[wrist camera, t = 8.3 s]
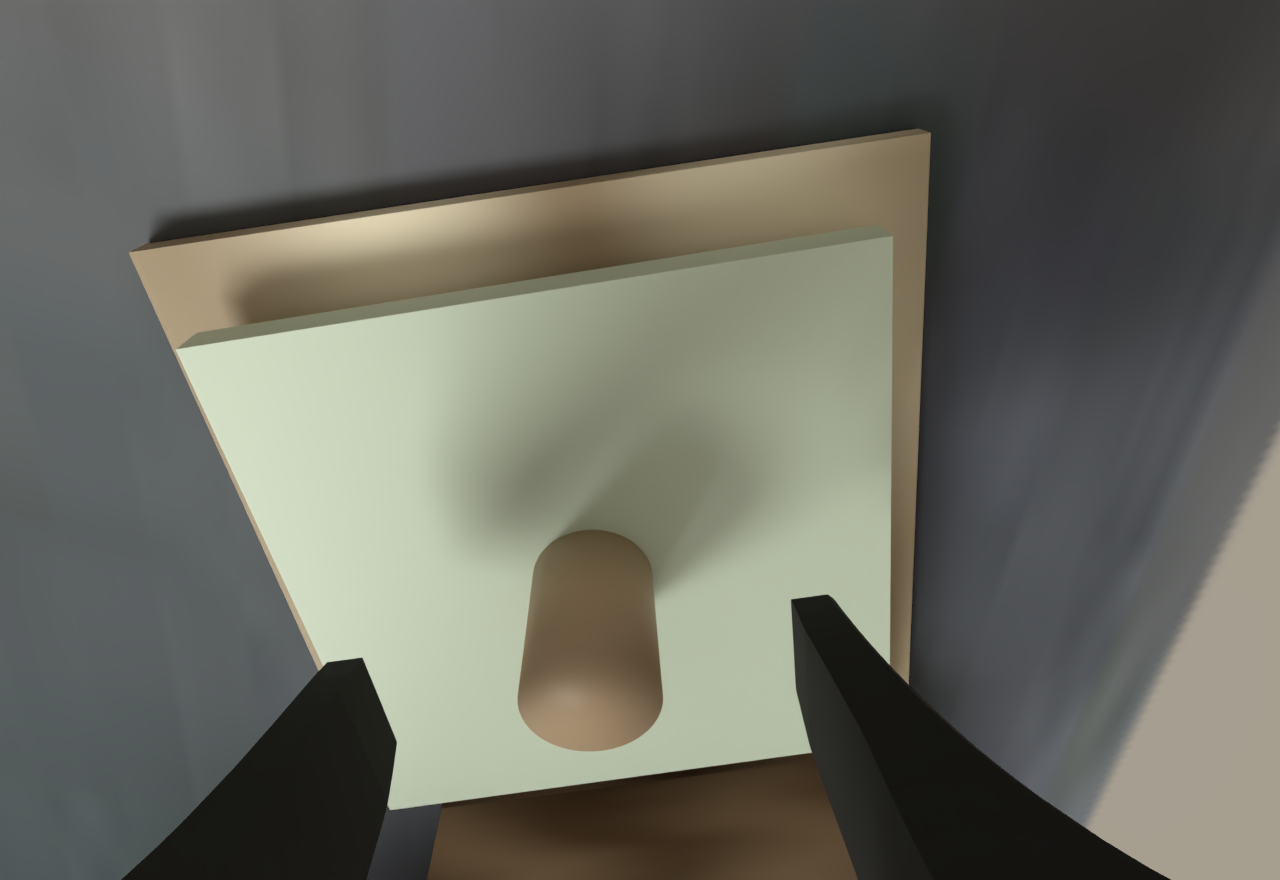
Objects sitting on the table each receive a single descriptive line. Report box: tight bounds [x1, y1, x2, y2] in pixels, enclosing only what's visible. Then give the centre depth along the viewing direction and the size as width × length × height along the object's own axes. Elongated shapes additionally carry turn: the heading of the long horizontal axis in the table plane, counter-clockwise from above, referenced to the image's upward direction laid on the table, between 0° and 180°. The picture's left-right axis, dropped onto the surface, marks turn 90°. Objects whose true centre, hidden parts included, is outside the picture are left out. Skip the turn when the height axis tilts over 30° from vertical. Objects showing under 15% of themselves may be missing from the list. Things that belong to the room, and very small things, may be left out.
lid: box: [175, 225, 893, 810], centre depth 15 cm, size 12×12×5 cm
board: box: [129, 128, 931, 685], centre depth 17 cm, size 14×14×1 cm
